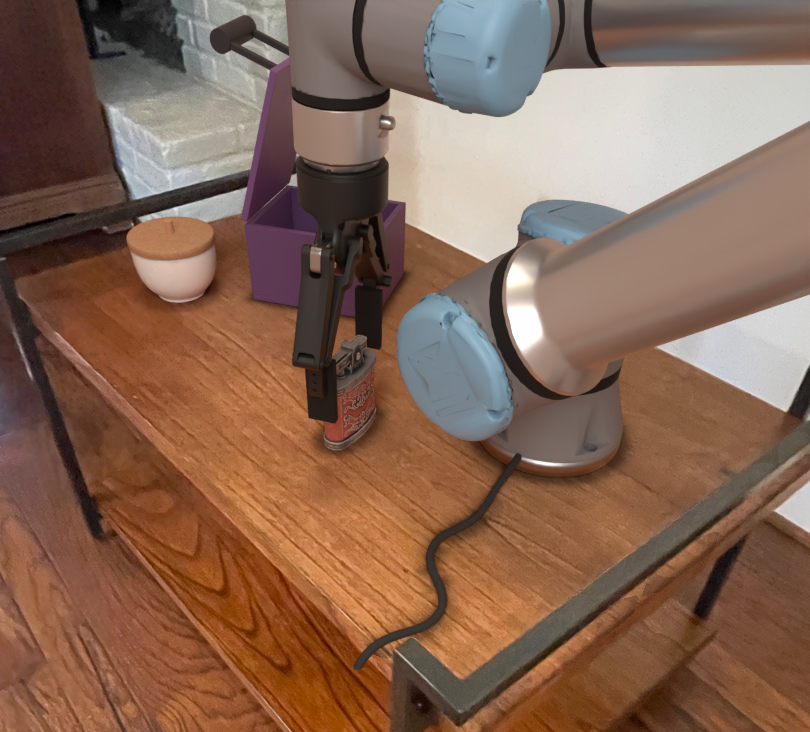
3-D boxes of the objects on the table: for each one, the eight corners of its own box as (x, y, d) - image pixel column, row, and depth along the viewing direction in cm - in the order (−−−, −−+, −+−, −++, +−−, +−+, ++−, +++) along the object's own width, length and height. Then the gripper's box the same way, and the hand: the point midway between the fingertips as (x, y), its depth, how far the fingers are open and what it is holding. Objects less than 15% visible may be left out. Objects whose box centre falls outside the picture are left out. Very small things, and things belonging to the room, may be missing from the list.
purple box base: (403, 273, 105) (405, 202, 98) (373, 320, 96) (373, 245, 89) (293, 255, 108) (287, 184, 101) (253, 299, 99) (244, 224, 92)
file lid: (323, 42, 88) (251, 5, 87) (277, 72, 79) (196, 30, 78) (289, 182, 101) (227, 150, 100) (246, 222, 91) (177, 187, 91)
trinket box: (214, 313, 96) (202, 240, 89) (130, 310, 96) (111, 237, 89) (229, 274, 103) (219, 204, 97) (151, 271, 103) (136, 201, 97)
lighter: (356, 404, 83) (354, 322, 76) (383, 413, 82) (383, 331, 75) (316, 443, 78) (310, 359, 71) (344, 454, 77) (341, 369, 70)
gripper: (332, 224, 51) (340, 463, 67) (428, 115, 68) (416, 326, 83) (231, 208, 53) (261, 446, 68) (349, 105, 69) (352, 314, 85)
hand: (347, 380), depth 76 cm, fingers open, 13 cm apart
